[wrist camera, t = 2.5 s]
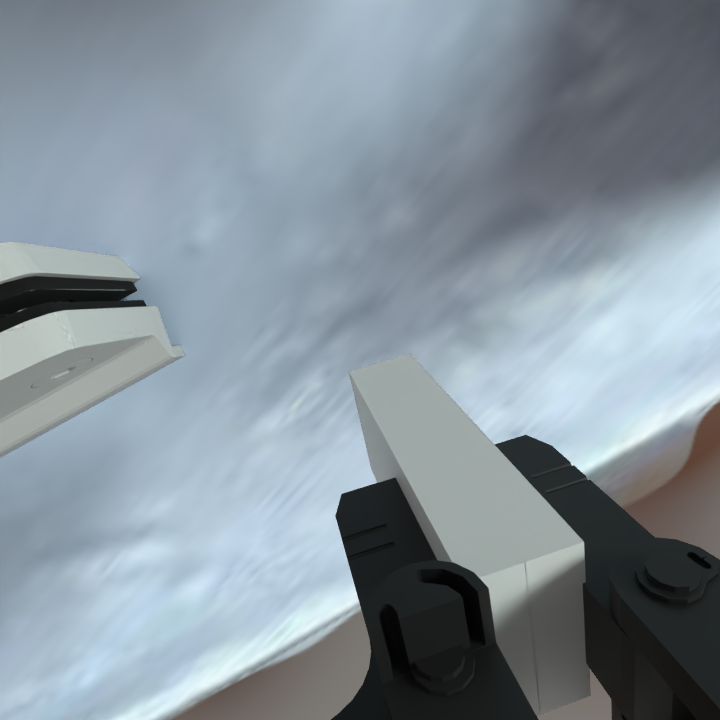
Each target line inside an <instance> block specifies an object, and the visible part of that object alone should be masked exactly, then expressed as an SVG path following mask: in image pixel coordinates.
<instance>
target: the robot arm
mask: <svg viewBox="0 0 720 720" xmlns="http://www.w3.org/2000/svg"><path fill="white" fill-rule="evenodd" d="M349 375H350V379H351V383H352V387H353V392H354V396H355V400H356V405H357V409H358V413H359V418H360V422H361V426H362V430H363V435H364V439H365V443H366V448H367V452H368V456H369V461H370V465H371V469H372V471H373V474H374V476H375V478H376V480H377V483H376V484H372V485H369V486H366V487H363V488H360V489H356V490H353V491H350V492H347V493H343V494H342V495H341V499H340V502H339V506H338V509H337V513H336V519H337V523H338V527H339V530H340V534H341V537H342V541H343V545H344V548H345V552H346V556H347V559H348V563H349V566H350V570H351V574H352V577H353V581H354V584H355V588H356V592H357V595H358V599H359V602H360V606H361V609H362V613H363V617H364V620H365V624H366V627H367V631H368V634H369V638H370V645H371V658H370V666H369V670H368V672H367V675H366V678H365V680H364V683H363V685H362V686H361V688H360V689H359V691H358V693H357V694H356V696H355V697H354V698H353V700H352V701H351V702H350V703H349V704H348V705H347V706H346V707H345V708H344V709H343V710H342V711H341V712H340V713H339V714H338V715H336V716H335V717H334V718H332V719H331V720H538V718H537V716H538V715H541V714H544V713H546V712H548V711H551V710H554V709H556V708H559V707H562V706H564V705H567V704H569V703H572V702H575V701H577V700H580V699H582V698H585V697H587V696H590V673H589V672H590V671H589V668H590V669H591V670H592V672H593V673H594V675H595V676H596V678H597V679H598V680H599V682H600V683H601V685H602V686H603V687H604V689H605V690H606V692H607V693H608V695H609V696H610V698H611V702H612V720H720V560H719V559H718V558H716V557H714V556H713V555H711V554H709V553H708V552H706V551H705V550H703V549H701V548H700V547H696V546H694V545H691V544H688V543H685V542H681V541H679V540H676V539H665V538H655V537H654V536H653V535H651V534H650V533H649V532H648V531H647V530H646V529H645V528H644V527H642V526H641V525H640V524H639V523H638V522H637V521H635V519H633V518H632V517H631V516H630V515H629V514H628V513H627V512H626V511H624V510H623V509H622V508H621V507H620V506H619V505H618V504H617V503H616V502H614V501H613V500H612V499H611V498H610V497H609V496H608V495H607V494H605V493H604V492H603V491H602V490H601V489H600V488H599V487H598V486H596V485H595V484H594V483H593V482H592V481H591V480H587V478H586V476H585V475H584V474H583V473H582V472H581V471H580V470H578V469H577V468H576V467H575V466H571V463H570V462H569V461H568V460H567V459H566V458H565V457H564V456H563V455H562V454H560V453H559V452H558V451H557V450H556V449H555V448H554V447H553V446H551V445H549V444H546V443H544V442H542V441H539V440H537V439H534V438H532V437H529V436H527V435H524V436H521V437H517V438H514V439H511V440H508V441H505V442H501V443H498V444H495V445H494V444H493V443H492V441H491V440H490V439H489V438H488V437H487V436H486V435H485V434H484V433H483V432H482V431H481V430H480V428H479V427H478V426H477V425H476V424H475V423H474V422H473V421H472V420H471V419H470V418H469V416H468V415H467V414H466V413H465V412H464V411H463V410H462V409H461V408H460V407H459V406H458V405H457V403H456V402H455V401H454V400H453V399H452V398H451V397H450V396H449V395H448V394H447V393H446V392H445V390H444V389H443V388H442V387H441V386H440V385H439V384H438V383H437V382H436V381H435V380H434V379H433V377H432V376H431V375H430V374H429V373H428V372H427V371H426V370H425V369H424V368H423V367H422V366H421V364H420V363H419V362H418V361H417V360H416V359H415V358H414V357H413V356H412V355H411V354H408V355H404V356H400V357H397V358H393V359H390V360H386V361H383V362H379V363H375V364H372V365H368V366H365V367H361V368H358V369H354V370H350V371H349Z"/></svg>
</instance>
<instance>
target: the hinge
mask: <svg viewBox="0 0 720 720" xmlns="http://www.w3.org/2000/svg"><path fill="white" fill-rule="evenodd" d="M139 279H141V278H140V277H139V276H138V275H137V274H136V272H135V271H134V270H133V269H132V268H131V267H130V266H129V265H128V264H127V263H126V262H125V261H124V260H123V259H121V258H120V257H118V256H111V255H104V254H97V253H90V252H83V251H75V250H68V249H61V248H54V247H47V246H40V245H33V244H26V243H19V242H5V243H0V457H2V456H4V455H6V454H8V453H9V452H11V451H13V450H15V449H17V448H19V447H20V446H22V445H24V444H26V443H28V442H29V441H31V440H33V439H35V438H37V437H38V436H40V435H42V434H44V433H46V432H47V431H49V430H51V429H53V428H55V427H56V426H58V425H60V424H62V423H64V422H66V421H67V420H69V419H71V418H73V417H75V416H76V415H78V414H80V413H82V412H84V411H85V410H87V409H89V408H91V407H93V406H94V405H96V404H98V403H100V402H102V401H104V400H105V399H107V398H109V397H111V396H113V395H114V394H116V393H118V392H120V391H122V390H123V389H125V388H127V387H129V386H131V385H132V384H134V383H136V382H138V381H140V380H141V379H143V378H145V377H147V376H149V375H151V374H152V373H154V372H156V371H158V370H160V369H161V368H163V367H165V366H167V365H169V364H170V363H172V362H174V361H176V360H178V359H179V358H181V357H183V356H185V352H184V350H183V348H182V346H181V345H176V346H172V345H171V343H170V340H169V337H168V335H167V332H166V329H165V326H164V324H163V321H162V318H161V316H160V313H159V310H158V307H157V306H146V304H145V302H144V301H143V300H132V301H119V300H121V299H123V298H125V297H126V296H128V295H130V294H132V293H134V292H136V291H137V289H136V287H135V285H134V284H133V283H134V282H136V281H137V280H139Z"/></svg>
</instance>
